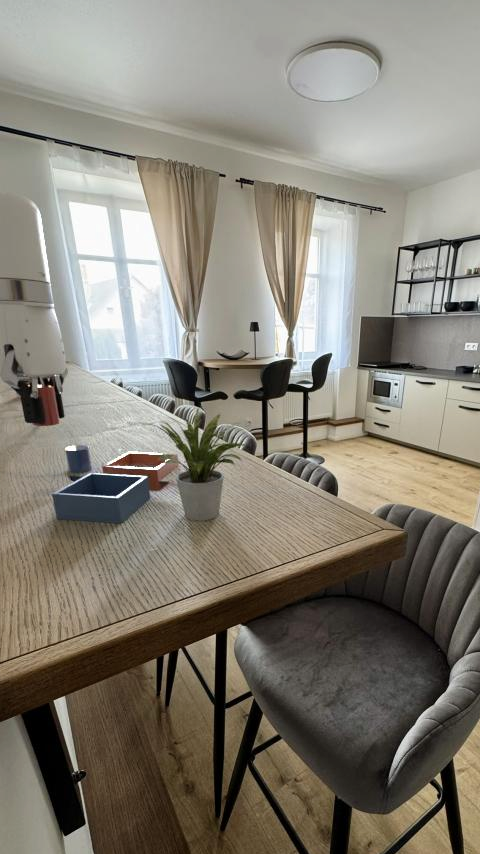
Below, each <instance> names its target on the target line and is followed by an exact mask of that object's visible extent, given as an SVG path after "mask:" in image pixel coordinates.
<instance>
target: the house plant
mask: <svg viewBox="0 0 480 854" xmlns="http://www.w3.org/2000/svg"><path fill="white" fill-rule="evenodd" d="M199 410H200V406H199V407H198V408H197V409H196V411H195V413H194V419H193V425H192V423H191V422H190V421H189V420H188V419H187V418H185V424H186V425H187V429H183V426H182V425H181V424H180V423H179V422H178V421H177V420H175V419H174V418H171V417H166V418H167V419H170V420H172V421H174V422H176V423H177V424H178V426H179V428H180V429H181V430H180V432H182V433H183V435H184V437H185V439H186V441H187V444H186V443H184V442H183V440H182V438H181V436H180V435H179V434H178V433H177V431H176V430H175V429H173V428H172V426H171V425H170V424H169V423H168V422H165V421H164V420H161V422H162V423H164V424H165V425H162V424H161V423H159V425H160V426H161V427H159V426H157V425H155V424H151V423H146V425H148V426H152V427H156V428H158V429H160V430H161V431H163V432H164V433H165V434H166V435H168V437H169V438H170V440H172V441H173V442H174V444H175V445H174V446H175V447H176V448H177V449H178V450H179V452H181V453H182V454H183V457H184V460H185V461H183V462H181V461H180V460H179V459H178V460H177V459H176V458H175V457H173V456H170V455H165V454H166V453H163V454H164V455H161V456H160V457H159V458H158V460H165V459H173V460H177V461H178V462H177V461H165V462H163V463H162V464H164V463H172V462H174V463H178V465H182V467H183V468H184V470H185V471H182V472H179V473H178V474H177V475H176V476H175V480H176V485H177V488H178V489H177V490H178V493H179V497H180V500H181V504H182V508H183V512H184V516H185V517H186V519H188V520H191V521H196V522H203V521H209V520H213V519H216V518H217V517H218V516H219V514H220V508H221V507H220V506H221V500H222V493H223V492H222V491H223V484H224V478H225V477H224V473H222V472H221V471H219V470H215V469H216V468H217V467H218V466H220V464H221V463H222V464H223V463H224V464H230V465H234V466H236V463H234V461H233V460H232V459H229V458H234V459H237V460H239V461H240V462H242V459H241V457H240V456H239V455H237V454H233V453H226V454H224V453H225V452H226V451H228V450H231V449H234V448H236V447H239V446H241V447H243V446H244V447H245V446H247V444H245V443H238V442H230V443H229V442H227V443H226V442H223V443H218V444H217V442H218V441H219V440H220V439H221V438H225V436H224V435H225V434H226V433H227V432H230V429H231V428H233V427H234V426H236V425H238V424H241V423H242V421H240V422H237V423H233V424H232V425H230V426H229V427H227V428H226V429H225V430H223V431H220V432H216V430H217V429H218V421H219V420H220V417H221V413H218V414H217V415H216V416H214V417H213V418H212V420H210V421H209V422H208V424H207V425H206V427H205V428H204V430H203V432H202V435H201V437H200V441H199V431H200V430H199V429H200V427H199V426H200V425H199ZM168 427H169V428H168ZM219 434H220V435H219ZM216 435H218V436H216ZM215 436H216V437H215ZM214 437H215V438H214ZM188 446H189V447H188ZM228 457H229V458H228ZM158 460H157V461H158ZM184 463H186V465H187V466H186V465H185V464H184Z"/></svg>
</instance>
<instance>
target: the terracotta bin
mask: <svg viewBox="0 0 480 854" xmlns="http://www.w3.org/2000/svg"><path fill="white" fill-rule="evenodd" d="M164 454H165V455H170V456H173V457H175V458H176V459H177V460H179V455H178V454H177V453H176V454H175V453H160V452H159V453H158V452H156V453H155V452H140V451H139V452H138V451H128V452H126V453H124V454H122V455H121V456H118V457H117V458H115V459H113V460H111V461H109V462H107V463H106V464H104V465H102V466H101V469H102V474H116V475H133V476H148V482H149V491H155V492H160V491H161V490H162V489H163V488H164V487H165V486H167V485H168V484H169V483H170V481H169V480H168V481H166V480H165V481H164V480H163V479H164V478H165V477H166V476H167V475H169V474H170V473H172V472H173V471H174V470H175V469H176V468H177V467H179V463H174V462H172V463H164V464H162V463H163V462H165V461H177V460H173V459H165V460H158V458H159V457H160V456H161V455H164ZM157 460H158V461H157ZM177 462H179V461H177ZM130 465H148V466H149V465H150V466H156V467H154V468H153V467H137V466H136V467H135V466H130Z"/></svg>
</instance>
